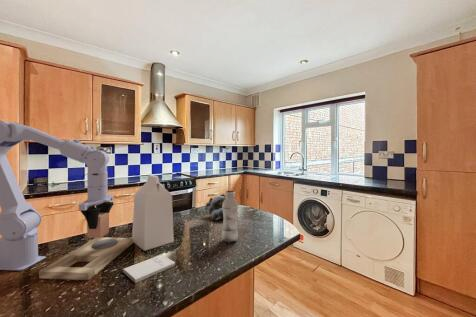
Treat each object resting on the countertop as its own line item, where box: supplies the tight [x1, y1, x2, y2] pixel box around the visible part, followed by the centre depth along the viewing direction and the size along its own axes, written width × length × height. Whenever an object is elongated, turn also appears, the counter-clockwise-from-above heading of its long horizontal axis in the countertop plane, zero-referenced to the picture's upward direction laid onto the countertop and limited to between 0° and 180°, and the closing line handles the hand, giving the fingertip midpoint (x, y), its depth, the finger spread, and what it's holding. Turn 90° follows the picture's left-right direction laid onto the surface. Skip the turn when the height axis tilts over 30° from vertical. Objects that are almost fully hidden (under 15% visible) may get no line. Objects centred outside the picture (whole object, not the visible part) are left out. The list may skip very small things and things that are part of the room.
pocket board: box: [38, 236, 134, 281], centre depth 73 cm, size 14×24×2 cm, turn 178°
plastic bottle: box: [221, 190, 239, 243], centre depth 88 cm, size 6×7×20 cm
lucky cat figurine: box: [205, 193, 226, 222], centre depth 119 cm, size 15×12×14 cm
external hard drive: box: [122, 254, 176, 284], centre depth 67 cm, size 2×8×12 cm
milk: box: [131, 174, 175, 251], centre depth 86 cm, size 12×12×26 cm
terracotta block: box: [86, 212, 110, 239], centre depth 75 cm, size 4×4×7 cm
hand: (98, 225), depth 75 cm, fingers closed on terracotta block, 4 cm apart
